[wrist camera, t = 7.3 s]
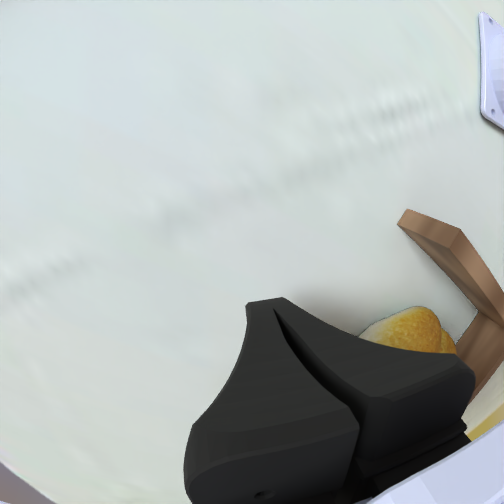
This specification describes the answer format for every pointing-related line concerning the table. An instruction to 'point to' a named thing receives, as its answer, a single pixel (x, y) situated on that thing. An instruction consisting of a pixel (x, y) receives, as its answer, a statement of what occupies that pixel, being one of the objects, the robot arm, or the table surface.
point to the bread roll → (411, 332)
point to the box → (465, 291)
